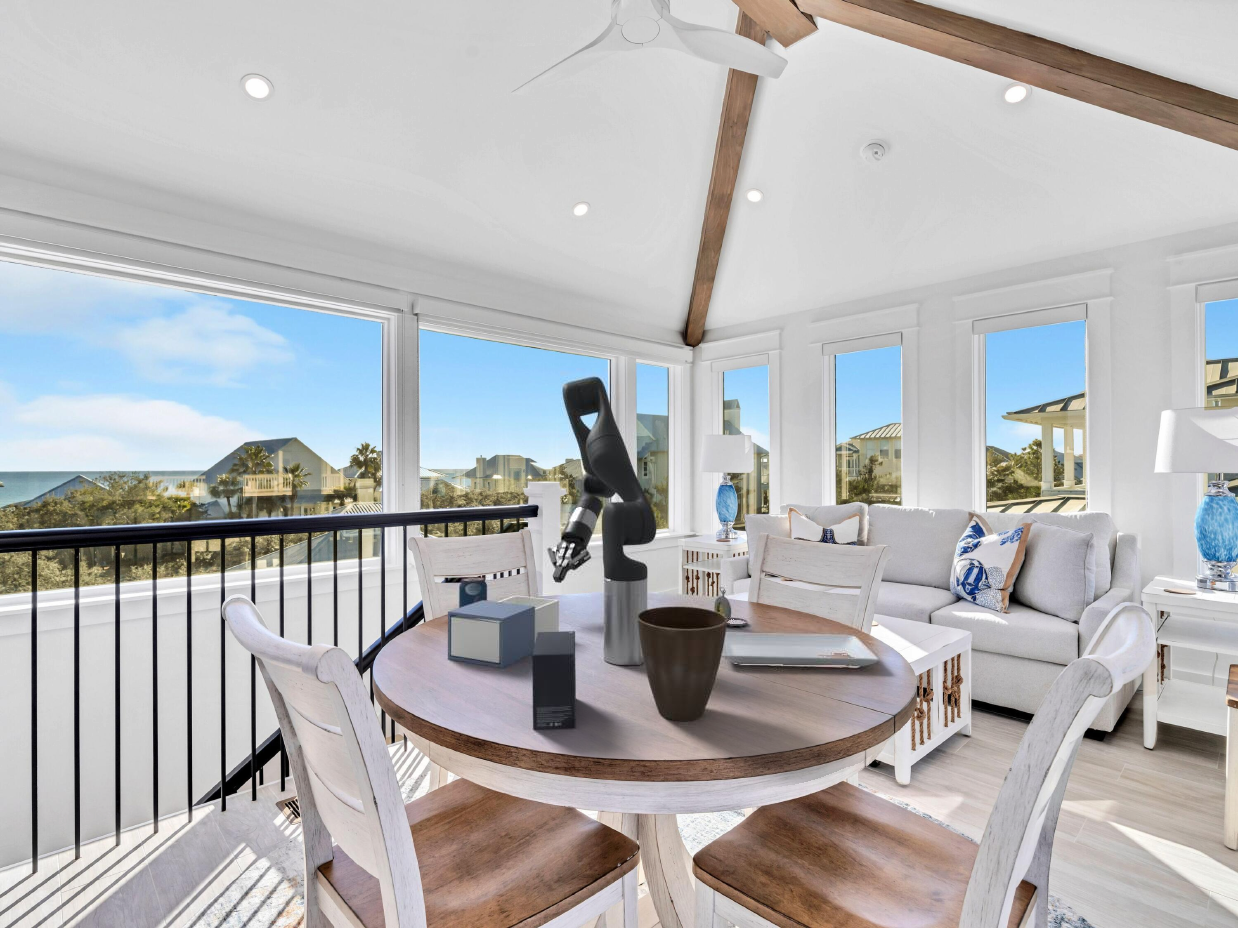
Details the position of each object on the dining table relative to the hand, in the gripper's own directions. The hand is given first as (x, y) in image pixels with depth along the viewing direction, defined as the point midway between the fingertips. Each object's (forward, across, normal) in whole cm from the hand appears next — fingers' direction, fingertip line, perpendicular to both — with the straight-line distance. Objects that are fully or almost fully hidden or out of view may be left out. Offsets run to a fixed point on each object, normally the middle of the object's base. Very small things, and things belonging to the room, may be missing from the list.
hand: (557, 580), depth 159 cm
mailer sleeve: (+28, 0, -11) cm, 30 cm away
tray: (+10, +59, +7) cm, 60 cm away
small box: (+42, +28, -26) cm, 57 cm away
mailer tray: (+23, 0, -8) cm, 24 cm away
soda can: (+15, -19, +2) cm, 24 cm away
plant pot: (+36, +47, -20) cm, 63 cm away
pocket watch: (-6, +40, +22) cm, 46 cm away
